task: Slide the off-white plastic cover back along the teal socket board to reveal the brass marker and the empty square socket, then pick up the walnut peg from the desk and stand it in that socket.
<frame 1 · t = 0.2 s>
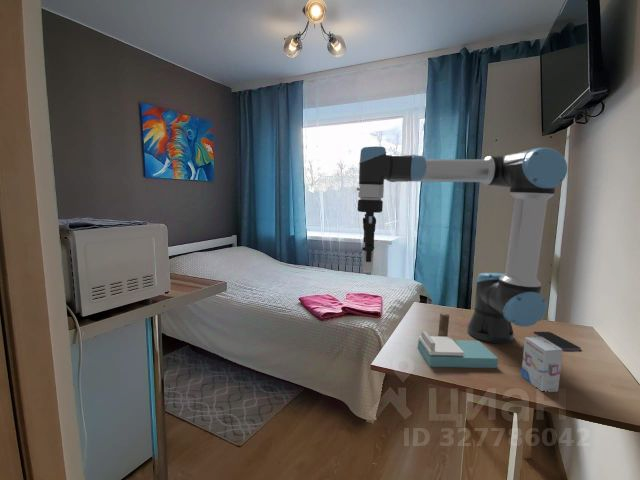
hand: (367, 267, 106), 27 cm above the table, fingers open, 13 cm apart
ink box: (538, 383, 93), on the table
peg: (442, 342, 117), on the table
board: (455, 357, 106), on the table
smartphone: (555, 342, 121), on the table
cover: (440, 342, 106), point 5 cm above the table, slide at 0.0 cm
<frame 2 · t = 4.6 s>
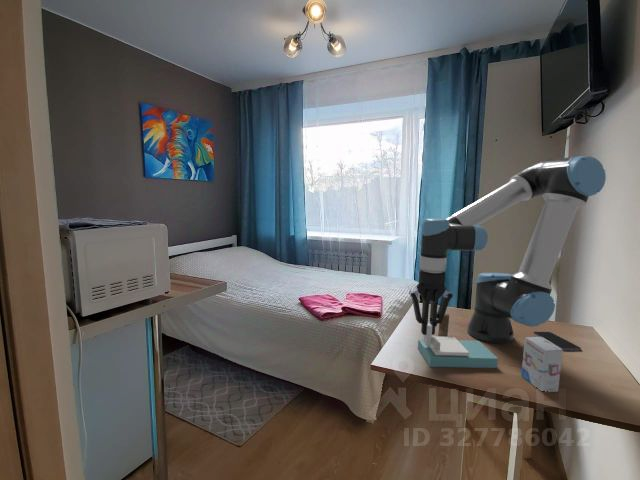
hand: (427, 344, 106), 4 cm above the table, fingers closed
cover: (445, 342, 106), point 5 cm above the table, slide at 1.6 cm, touching gripper
everything else where it was.
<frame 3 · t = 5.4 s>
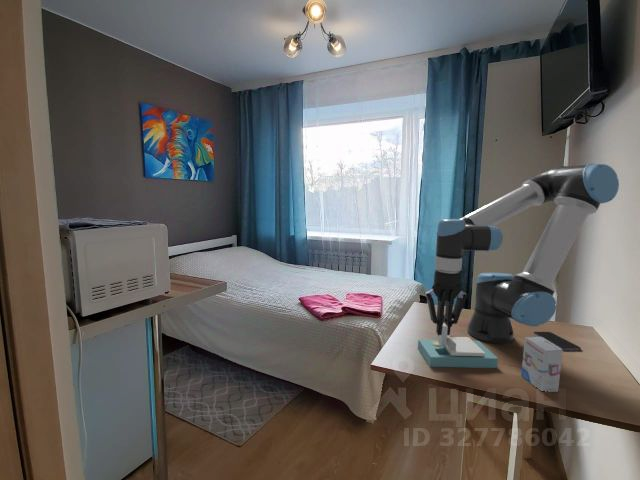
hand: (442, 344, 106), 4 cm above the table, fingers closed
cover: (460, 342, 106), point 5 cm above the table, slide at 6.3 cm, touching gripper
everything else where it was.
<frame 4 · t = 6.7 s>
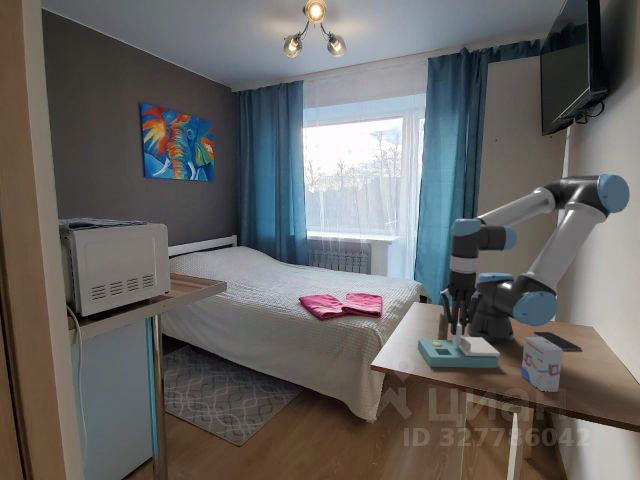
hand: (456, 344, 106), 4 cm above the table, fingers closed
cover: (474, 342, 106), point 5 cm above the table, slide at 10.7 cm, touching gripper
everything else where it was.
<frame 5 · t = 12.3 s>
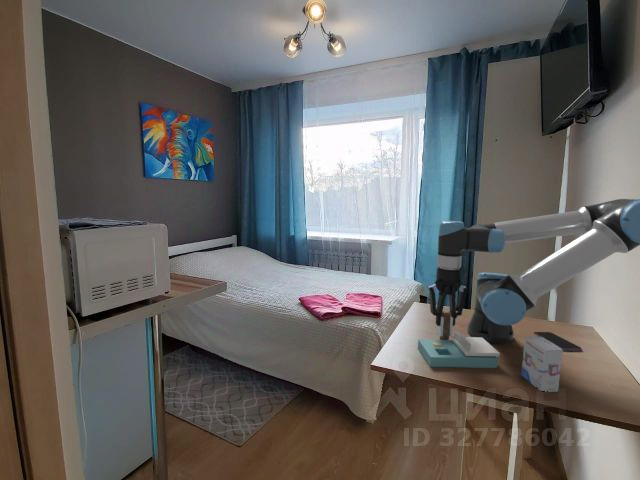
hand: (444, 334, 117), 3 cm above the table, fingers closed on peg, 2 cm apart
peg: (444, 340, 117), point 1 cm above the table, touching gripper
cover: (474, 342, 106), point 5 cm above the table, slide at 10.7 cm
everything else where it was.
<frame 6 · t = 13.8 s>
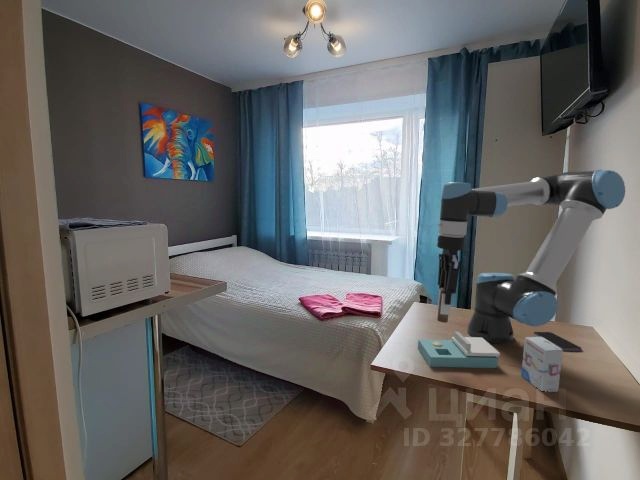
hand: (443, 312, 103), 15 cm above the table, fingers closed on peg, 2 cm apart
peg: (442, 320, 103), point 12 cm above the table, touching gripper
everything else where it was.
when the fingers open (4 cm above the table, at t = 16.1 s): peg drops 2 cm, resting in board.
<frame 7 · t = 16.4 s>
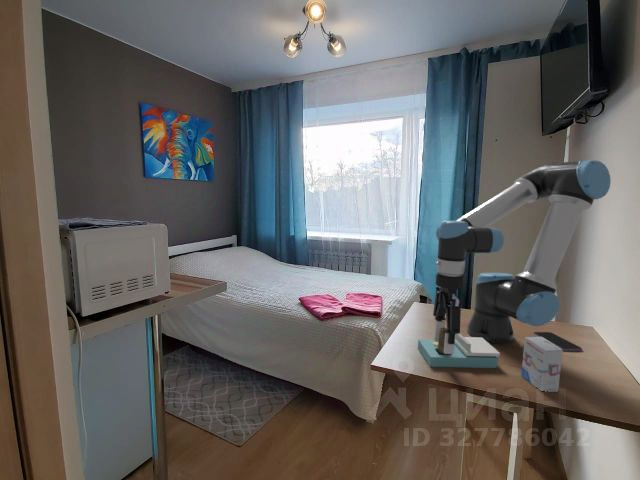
hand: (443, 346, 103), 5 cm above the table, fingers open, 7 cm apart
peg: (442, 361, 104), resting in board
everything else where it was.
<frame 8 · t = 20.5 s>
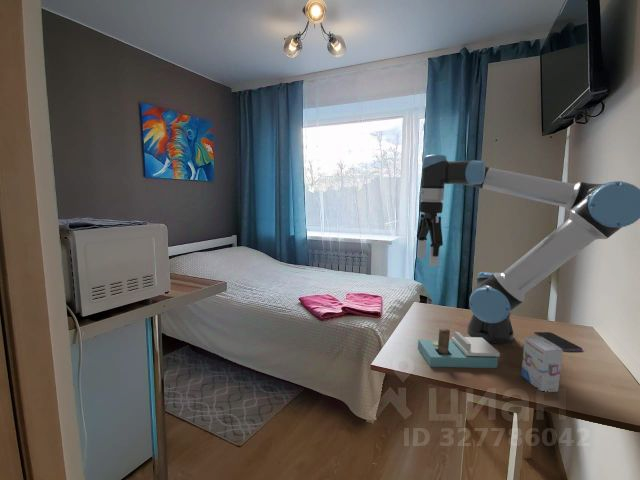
hand: (427, 261, 120), 27 cm above the table, fingers open, 13 cm apart
nothing on the table moved.
at the end: cover slide at 10.7 cm; peg 0.1 cm from the target spot on the board, point 0.0 cm above the board's base; peg tilted 0° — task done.
